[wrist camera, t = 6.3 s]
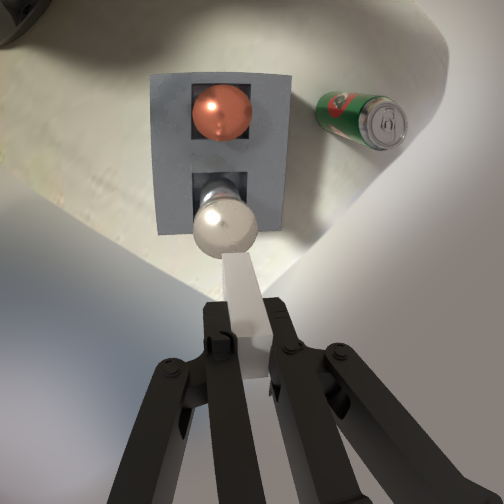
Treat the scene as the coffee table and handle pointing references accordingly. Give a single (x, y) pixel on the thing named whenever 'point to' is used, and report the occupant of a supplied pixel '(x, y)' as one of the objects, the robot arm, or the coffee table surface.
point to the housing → (218, 147)
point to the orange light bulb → (222, 112)
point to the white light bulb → (223, 220)
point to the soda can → (363, 119)
